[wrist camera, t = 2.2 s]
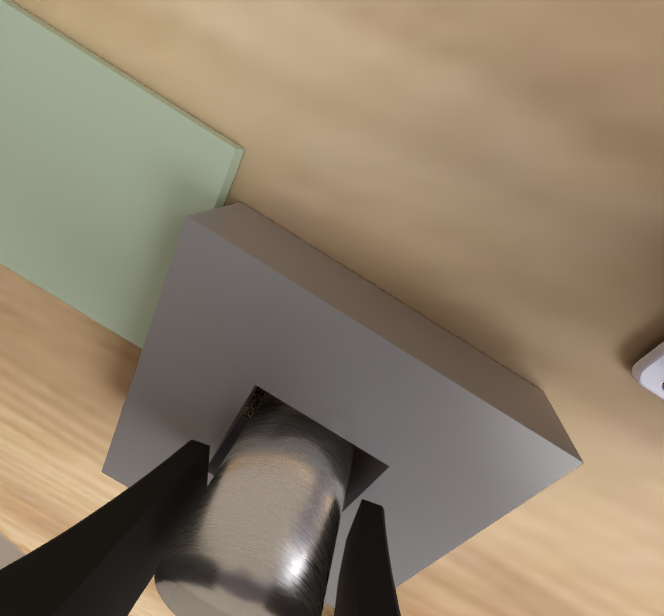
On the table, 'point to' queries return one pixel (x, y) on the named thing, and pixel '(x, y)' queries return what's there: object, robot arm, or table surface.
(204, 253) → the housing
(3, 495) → the table surface
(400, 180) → the table surface
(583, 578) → the table surface
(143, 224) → the mat
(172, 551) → the plug
